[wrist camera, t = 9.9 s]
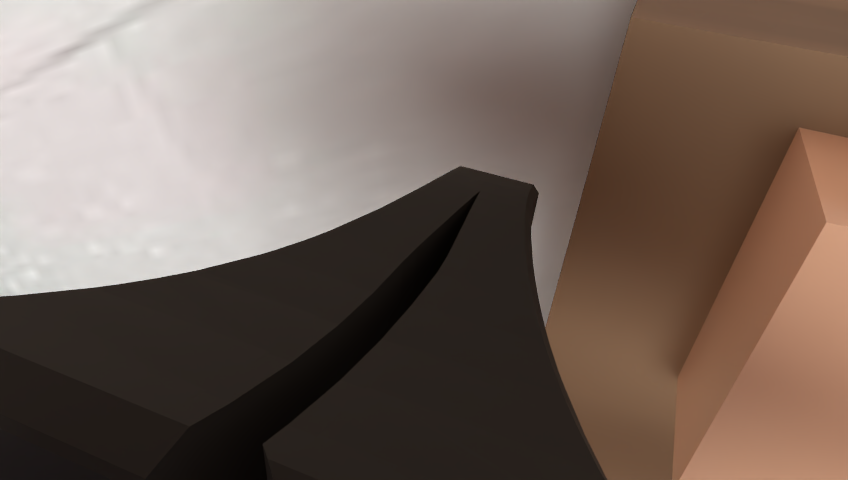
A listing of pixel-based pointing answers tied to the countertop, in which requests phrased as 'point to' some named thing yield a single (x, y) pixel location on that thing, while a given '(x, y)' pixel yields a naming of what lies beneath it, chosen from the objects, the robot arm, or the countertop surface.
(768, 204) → the tile
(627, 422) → the wooden cutting board
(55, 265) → the countertop surface
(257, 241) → the countertop surface
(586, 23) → the countertop surface
